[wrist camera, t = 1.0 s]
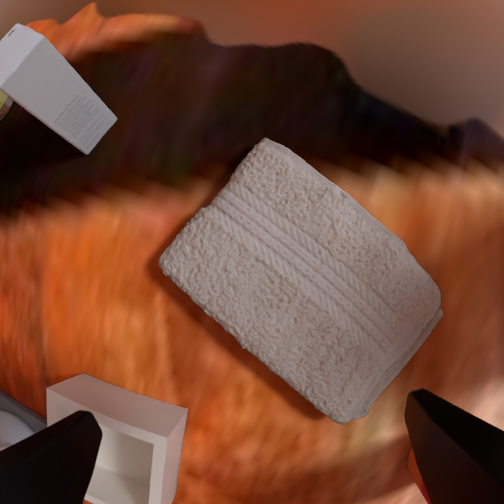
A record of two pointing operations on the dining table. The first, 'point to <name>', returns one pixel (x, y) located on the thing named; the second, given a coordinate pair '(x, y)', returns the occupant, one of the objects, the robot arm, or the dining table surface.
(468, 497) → the robot arm
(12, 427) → the lid
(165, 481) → the dish
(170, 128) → the dining table surface
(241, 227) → the washcloth
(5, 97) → the sauce bottle
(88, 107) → the skincare box
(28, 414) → the mat
